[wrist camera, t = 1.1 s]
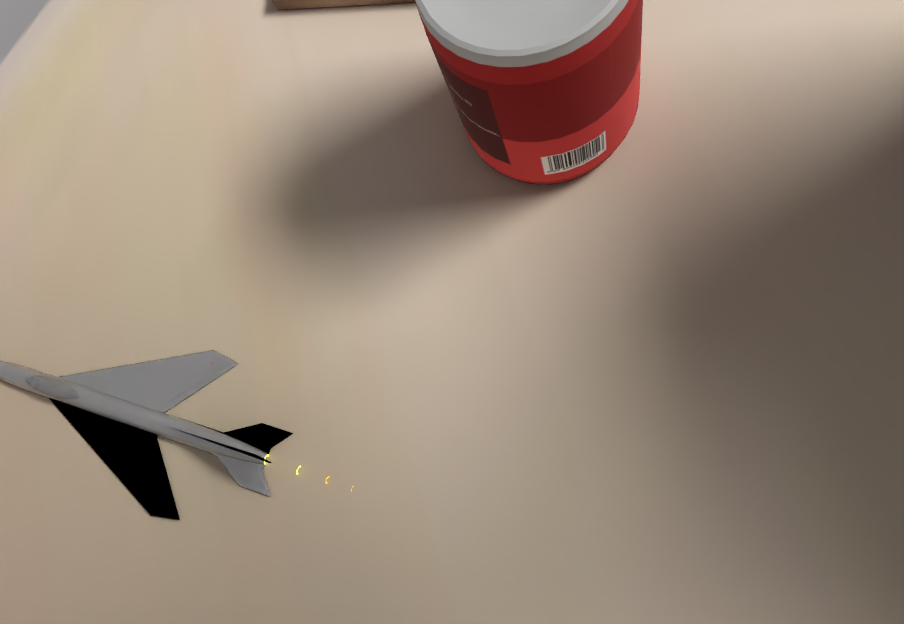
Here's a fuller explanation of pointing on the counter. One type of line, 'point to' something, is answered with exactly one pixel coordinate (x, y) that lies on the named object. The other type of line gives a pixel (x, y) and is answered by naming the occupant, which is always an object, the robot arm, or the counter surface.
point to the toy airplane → (150, 421)
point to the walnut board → (329, 3)
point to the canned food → (540, 79)
